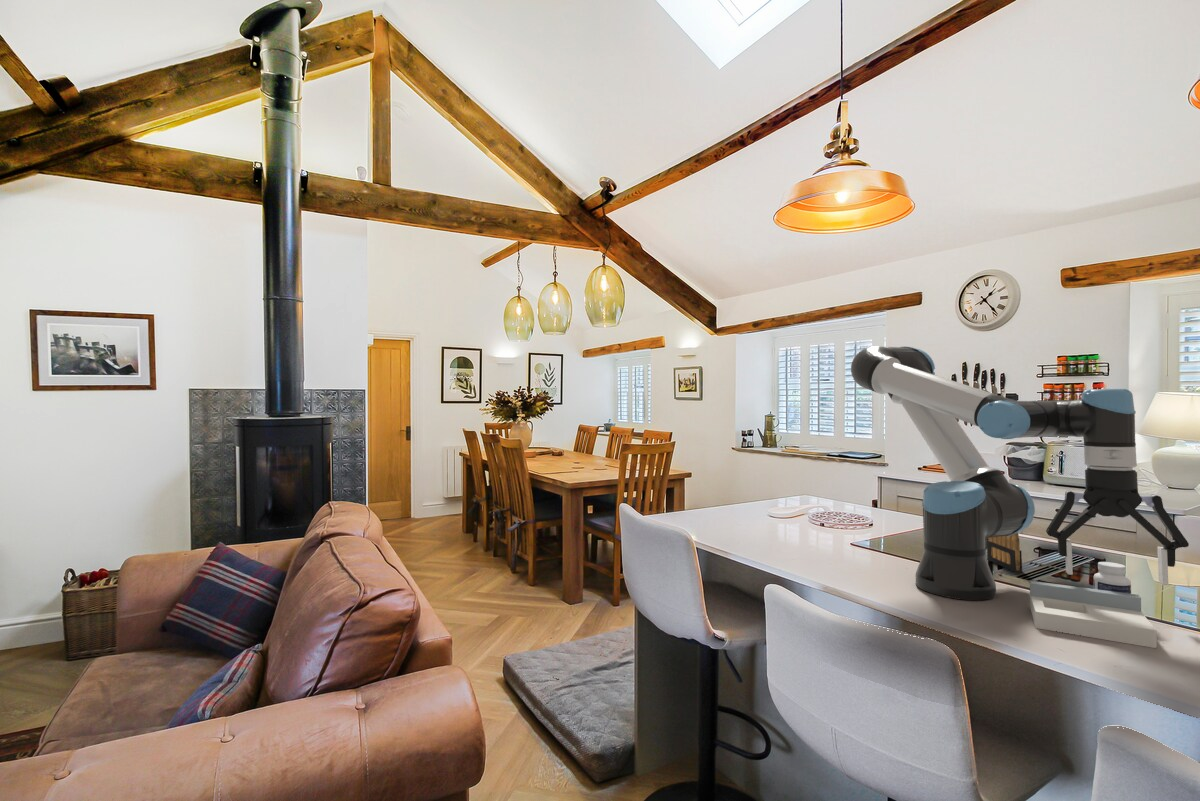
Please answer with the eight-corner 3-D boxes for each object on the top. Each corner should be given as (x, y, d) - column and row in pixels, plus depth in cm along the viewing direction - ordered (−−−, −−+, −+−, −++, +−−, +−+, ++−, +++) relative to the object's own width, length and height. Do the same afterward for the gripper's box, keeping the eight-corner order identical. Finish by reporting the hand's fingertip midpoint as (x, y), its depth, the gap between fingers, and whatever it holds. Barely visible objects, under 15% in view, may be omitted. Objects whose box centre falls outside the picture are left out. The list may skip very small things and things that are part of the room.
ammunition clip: (986, 559, 147) (986, 514, 148) (994, 559, 147) (993, 514, 147) (1014, 571, 137) (1013, 522, 137) (1022, 571, 137) (1021, 522, 137)
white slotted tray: (1035, 628, 103) (1035, 597, 103) (1030, 608, 113) (1029, 580, 113) (1156, 648, 94) (1155, 615, 94) (1138, 624, 104) (1138, 594, 104)
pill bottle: (1139, 620, 105) (1138, 569, 106) (1106, 618, 107) (1105, 567, 107) (1118, 610, 111) (1118, 561, 111) (1087, 608, 112) (1086, 559, 112)
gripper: (1031, 467, 113) (1035, 573, 112) (1208, 472, 99) (1214, 593, 98) (1028, 464, 119) (1032, 564, 118) (1194, 468, 105) (1200, 582, 105)
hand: (1114, 578), depth 108 cm, fingers open, 13 cm apart
